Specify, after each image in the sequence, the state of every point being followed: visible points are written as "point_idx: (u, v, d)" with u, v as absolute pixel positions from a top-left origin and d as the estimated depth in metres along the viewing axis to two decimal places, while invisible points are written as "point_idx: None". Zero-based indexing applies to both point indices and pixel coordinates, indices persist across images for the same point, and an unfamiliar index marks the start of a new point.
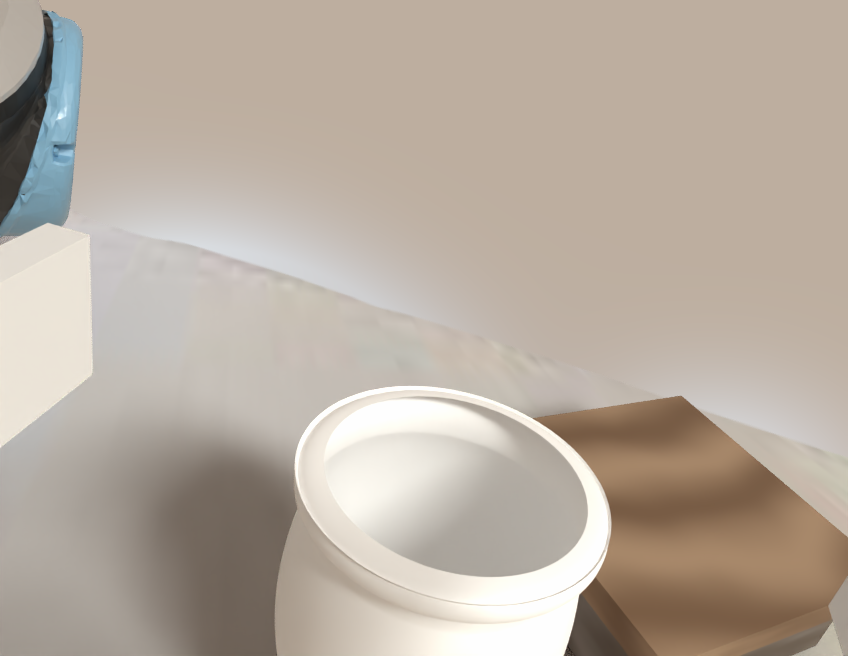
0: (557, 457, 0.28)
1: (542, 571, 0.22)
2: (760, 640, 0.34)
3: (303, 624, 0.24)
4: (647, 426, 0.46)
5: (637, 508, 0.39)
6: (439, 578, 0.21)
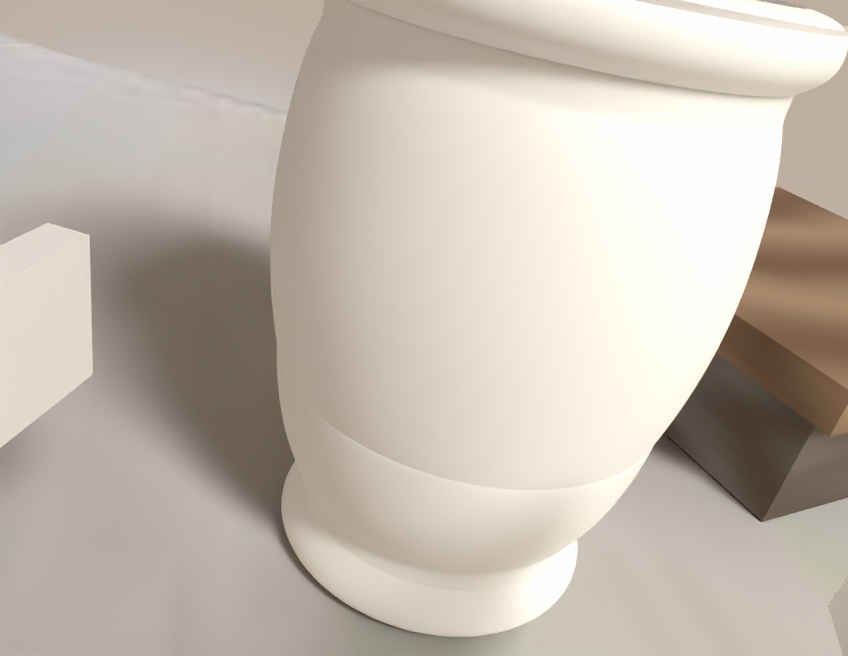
0: None
1: (766, 4, 0.12)
2: None
3: (318, 183, 0.14)
4: None
5: (759, 259, 0.29)
6: None
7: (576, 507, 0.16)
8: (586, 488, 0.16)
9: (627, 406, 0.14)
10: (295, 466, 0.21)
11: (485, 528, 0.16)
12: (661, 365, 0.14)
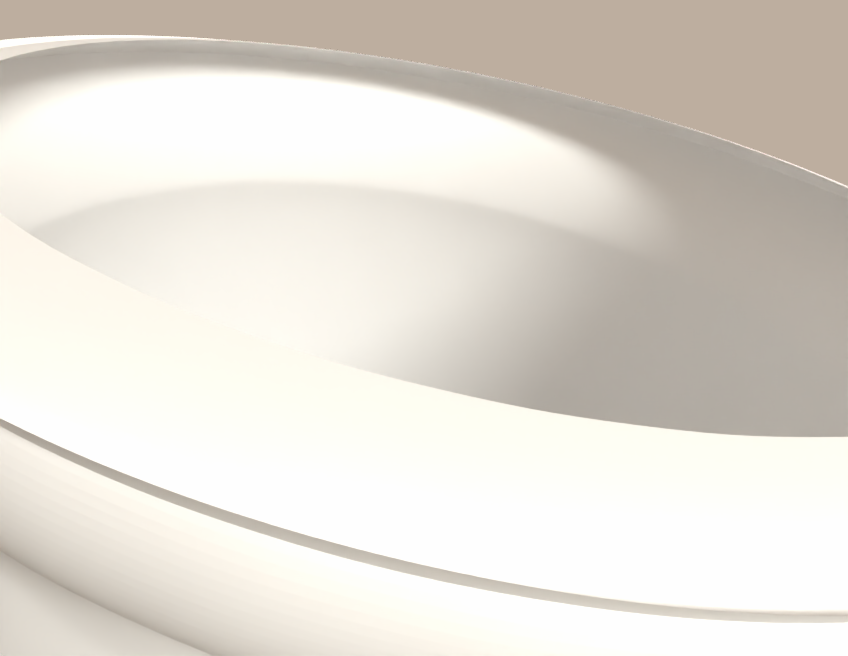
0: (761, 206, 0.10)
1: None
2: None
3: None
4: None
5: None
6: (418, 430, 0.03)
7: None
8: None
9: None
10: None
11: None
12: None
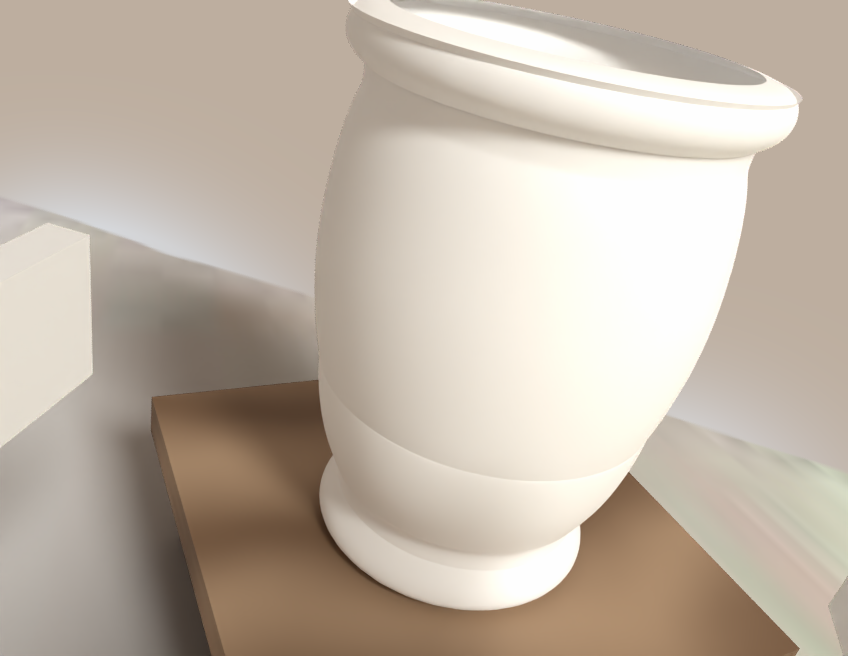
0: (692, 75, 0.21)
1: (727, 86, 0.15)
2: None
3: (363, 228, 0.17)
4: None
5: None
6: (582, 65, 0.14)
7: (578, 496, 0.19)
8: (587, 479, 0.19)
9: (620, 410, 0.17)
10: (331, 464, 0.24)
11: (501, 514, 0.19)
12: (647, 376, 0.17)
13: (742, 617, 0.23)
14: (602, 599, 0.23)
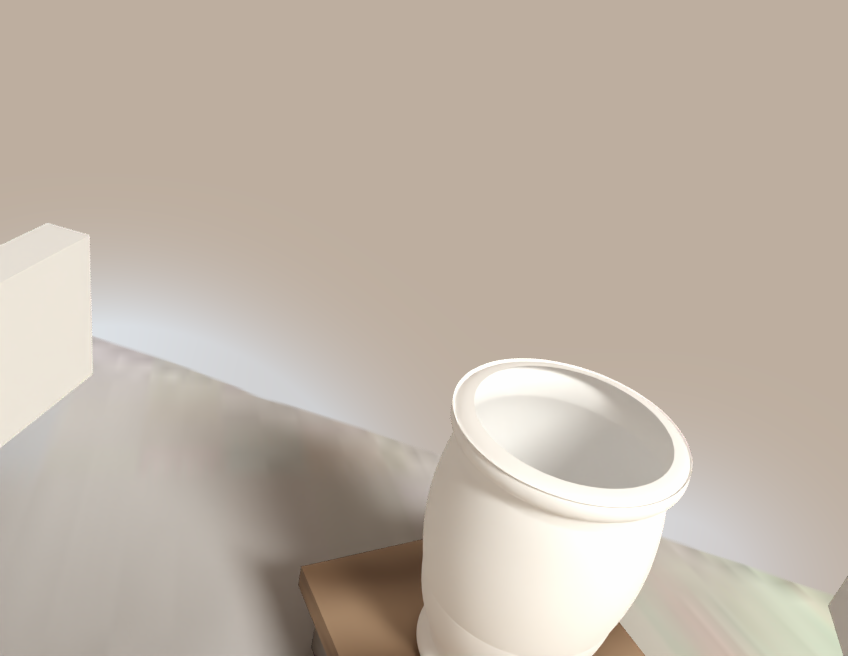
0: (640, 411, 0.36)
1: (649, 486, 0.30)
2: None
3: (462, 535, 0.32)
4: None
5: None
6: (578, 489, 0.29)
7: None
8: (580, 654, 0.34)
9: (598, 626, 0.32)
10: (423, 620, 0.39)
11: None
12: (612, 610, 0.32)
13: None
14: None
